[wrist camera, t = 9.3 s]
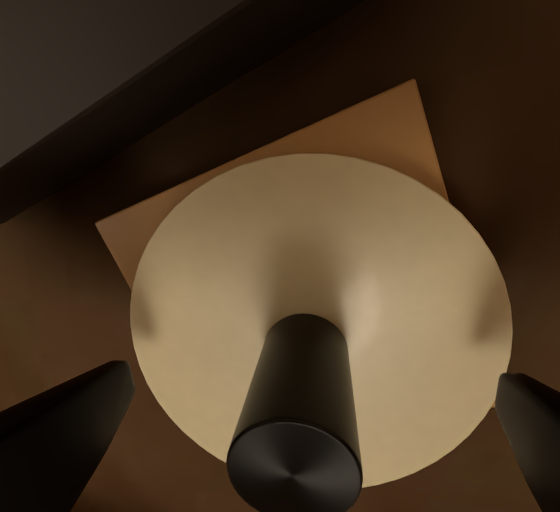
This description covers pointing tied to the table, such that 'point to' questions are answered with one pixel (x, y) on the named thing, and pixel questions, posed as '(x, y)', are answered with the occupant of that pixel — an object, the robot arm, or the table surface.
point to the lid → (320, 326)
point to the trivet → (312, 139)
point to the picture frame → (121, 75)
